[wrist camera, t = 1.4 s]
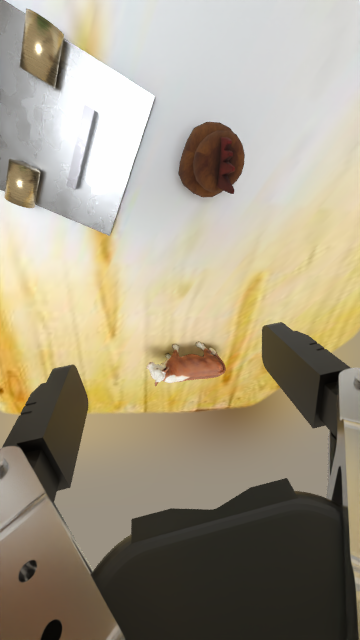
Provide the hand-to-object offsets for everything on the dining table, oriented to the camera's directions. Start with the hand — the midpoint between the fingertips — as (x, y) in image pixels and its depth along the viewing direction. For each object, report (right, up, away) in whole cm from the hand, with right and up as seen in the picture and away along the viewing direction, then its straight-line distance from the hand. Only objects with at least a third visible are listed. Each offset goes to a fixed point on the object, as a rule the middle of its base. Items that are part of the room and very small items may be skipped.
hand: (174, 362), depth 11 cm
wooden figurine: (+3, +22, +21) cm, 30 cm away
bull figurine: (+1, -4, +37) cm, 37 cm away
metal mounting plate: (-15, +23, +17) cm, 33 cm away
